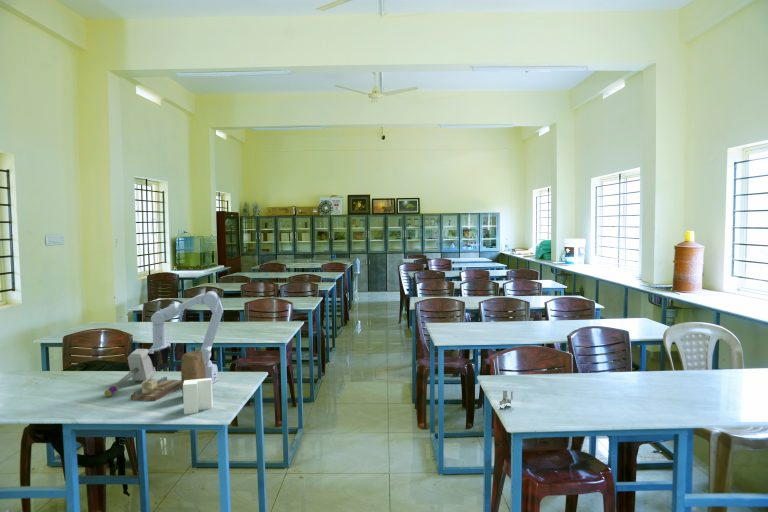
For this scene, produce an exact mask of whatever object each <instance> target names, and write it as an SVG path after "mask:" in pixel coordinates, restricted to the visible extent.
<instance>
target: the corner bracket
mask: <svg viewBox="0 0 768 512" xmlns="http://www.w3.org/2000/svg"><path fill="white" fill-rule="evenodd" d="M182 397H183V414H184V415H189V414H198V413H199V411H201V410H202V409H203V410H212V409H213V404H214V403H213V402H214V401H213V383H212V380H211V378H205V379H194V380H184V383H183V395H182ZM211 408H212V409H211Z"/></svg>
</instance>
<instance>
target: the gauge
mask: <svg viewBox="0 0 768 512" xmlns="http://www.w3.org/2000/svg"><path fill="white" fill-rule="evenodd" d="M157 380H158V379H149V380H145V381H143V382H142V381H141V388H142V393H146V394H153V393H155V392H157V391H158V390H161V391H163V390H164V388H158V385H157Z"/></svg>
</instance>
